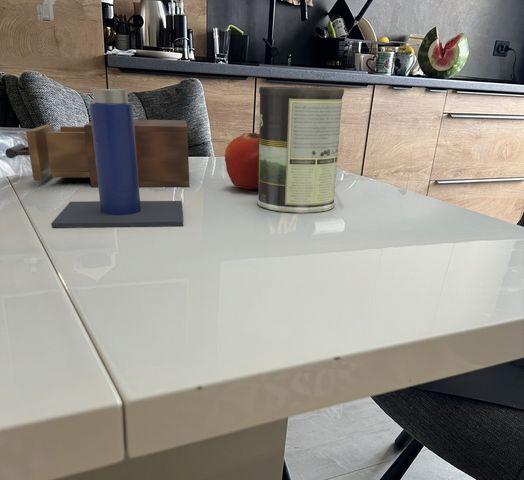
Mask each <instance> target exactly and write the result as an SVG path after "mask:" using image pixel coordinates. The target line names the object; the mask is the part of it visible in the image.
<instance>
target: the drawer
mask: <svg viewBox="0 0 524 480" xmlns="http://www.w3.org/2000/svg"><path fill="white" fill-rule="evenodd" d="M25 134H26V141H27V146H26V145H25V144H23V143H19V144H16V145H14V146H12V147H9V148H7V149H5V151H4V152H5V153H4V154H5V156H6V157H7V158H8V159H14V158H16V157H18V156H29V159H30V166H31V172H32V178H33V181H43V180H44V179H45V178H47V177H49V176H50V175H51V178H90V173H89V164H88V155H87V146H86V137H85V129H84V126H69V125H67V126H63V125H62V126H59V131H55V128H54V124H44V125H40V126H38V127H34V128H31V129H28V130H26V131H25Z"/></svg>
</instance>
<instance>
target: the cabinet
mask: <svg viewBox="0 0 524 480" xmlns="http://www.w3.org/2000/svg"><path fill="white" fill-rule="evenodd" d="M83 127H84V129H85V137H86V146H87V155H88V164H89V173H90V177H89V180H90V181H89V182H90V187H91V188H98V180H97V170H96V161H95V152H94V143H93V133H92V124H91V121H90V122H87V123H86V124H84V125H83ZM134 128H135V141H136V154H137V167H138V180H139V188H189V187H190V166H189V165H190V164H189V137H188V136H189V135H188V124H187V121H186V120H185V119H180V120H179V119H134Z"/></svg>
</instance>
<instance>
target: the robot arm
mask: <svg viewBox="0 0 524 480" xmlns="http://www.w3.org/2000/svg"><path fill="white" fill-rule="evenodd" d="M56 1H57V0H43V3H41V4H37V5H36V13H38V14H37V20H38V22H43V23H44V22H45V23H54V21H55V13H54V7H53V6H55V3H56Z"/></svg>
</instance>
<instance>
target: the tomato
mask: <svg viewBox="0 0 524 480" xmlns="http://www.w3.org/2000/svg"><path fill="white" fill-rule="evenodd" d="M224 161H225V167H226V172H227V175H228V177H229V179H230V181H231V183H232V184H233V185H234V186H235V187H238V188H241V189H245V190H252V191H256V190H257V191H258V190H259V133H256V132H243V133H242V134H241V135H240V136H237V137H235V138H234V139H232V140H231V141H230V142H229V143H228V144H227V146H226V147H225V152H224Z"/></svg>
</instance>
